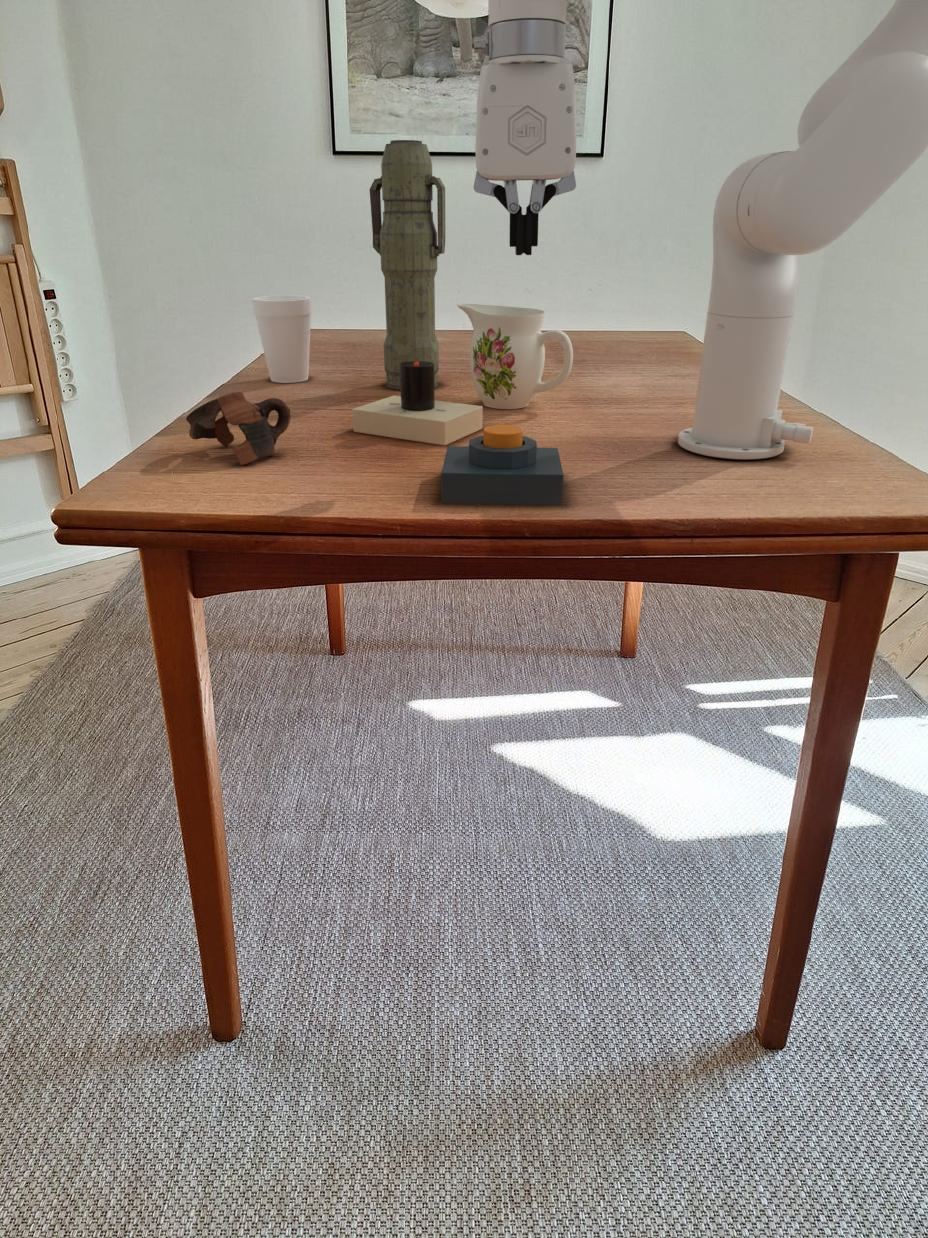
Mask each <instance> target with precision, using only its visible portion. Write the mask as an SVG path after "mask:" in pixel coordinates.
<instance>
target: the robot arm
mask: <svg viewBox="0 0 928 1238" xmlns="http://www.w3.org/2000/svg"><path fill="white" fill-rule="evenodd" d="M567 1H568V0H488V1H487V2H488V4H487V6H488V11H487V12H488V20H487V21H488V23H487V24H488V31H485V34H481V36H473V53H474V54H481V56H485V58H488V59H487V60H488V64H485V65H482V66H481V68H480V73H479V80H478V86H477V88H478V89H477V98H476V99H477V100H476V115H475V116H476V117H475V118H476V119H475V166H476V167H475V168H476V172H475V177H474V182H473V191H474V192H475V193H478V194H481V195H485V196H489V197H492V198H495V199H496V200H497V201H498V202H499V203H500V205H502V206H503V207H504V209H505V210H506V211H507V212H508V213H509V247H510V248H514V249H515V251H514V252H515V256H522V255H526V256H532V253H533V251H532V250H533V247H538V245H539V244H538V243H539V213H540V212H541V210H543V208H544V207H545V206H546V205H547V204H548V203H549V202H550V201H551V200H552V198H554V197H556V196H560V195H562V194H566V193H569V192H572V191H575V190H576V187H577V182H576V176H575V172H574V171H575V168H576V158H577V98H576V97H577V95H576V84H575V73H574V67H573V63H569V62H565V61H566V34H567V33H566V30H567V26H566V25H567V5H568V4H567V3H568V2H567ZM797 144H798V146H799V147H797V149H796V150H786V151H776V152H769V153H762V154H760V155H755V156H754V157H750V158H749V159H747V160H745V161H743V162H742V163H741V164H740V165H738V166H736V168H735V169H733V170H732V171H731V173H730V174H729V175H728V176H727V177H726V178H725V180H724V182H723V184H722V185H721V187H720V189H719V191H718V194H717V197H716V200H715V204H714V209H713V217H712V273H711V281H710V292H709V299H708V307H707V312H706V313H707V314H706V320H705V328H704V335H703V336H704V337H703V344H702V351H701V352H702V353H701V359H700V367H699V375H698V381H697V388H696V389H697V390H696V397H695V403H694V413H693V419H692V427H689V428H686V429H683V430H681V431H680V432H679V433H678V437H677V444H678V445H679V446H680V447H681V448H683V449H685V450H686V451H688V452H690V453H694V454H697V455H701V456H705V457H711V458H717V459H727V460H745V461H747V460H748V461H749V460H762V459H763V460H765V459H770V458H773V457H776V456H779V455H780V454H782V453H783V452H784V449H785V441H792V442H793V443H798V444H799V443H801V444H808V445H809V444H811V441H812V438H813V433H814V426H807V425H806V423H800V422H788V421H787V422H786V419H782V416H783V410H782V409H778V406H779V401H780V395H781V391H782V384H783V378H784V372H785V367H786V361H787V357H788V356H787V355H788V349H789V344H790V338H791V333H792V326H793V322H794V315H795V313H796V306H797V301H798V294H799V293H798V292H799V282H800V272H799V271H800V268H799V264H800V263H799V256H805V255H809V254H813V253H815V252H816V253H817V252H818V251H820V250H822V249H824V248H826V247H827V246H829V245H831V244H832V243H834V242H835V241H836V240H837V239H839V238H840V237H841V236H842V235H844V233H846V232H847V231H848V230H849V229H850V228H852V226H853V225H854V224H855V223H856V222H857V221H858V220H860V218H861V217H862V216H863V215H864V214H865V213H866V212H867V211H868V210H869V209H870V208H871V207H872V206H873V205H875V203H876V202H877V201H878V200H879V199H880V198H881V197H882V196H883V195H884V194H885V193H886V192H887V191H888V190H889V189H890V188H891V187H892V186H893V185H894V184H895V183H896V182H897V181H899V179H900V178H901V177H902V176H903V175H904V174H905V173H906V172H907V171H908V170H909V169H910V168H911V167H912V165H913V164H915V163H916V161H918V159H919V158H920V157H921V156H922V155H923V153H925V151H926V149H927V148H928V0H895V1H894V2H893V5H892V6H891V8H890V9H889V11H888V12H887V14H886V15H885V16H884V17H883V18H882V20H880V22H879V23H878V24H877V26H876V27H875V28H874V29H873V30H872V32H871V33H870V34H869V35H868V36H867V37H866V38H865V39H864V40H863V41H862V43H861V44H860V45H859V46H857V47H856V48H855V50H854V51H853V52H852V53H851V54H850V55H849V56H848V57H847V58H846V60H844V61H843V63H842V64H841V65H840V66H839V67H838V68H837V69H836V70H835V71H834V72H833V73H832V74H831V75H830V76H829V77H827V79H826V80H825V81H824V82H823V83H822V84H821V86H820V87H819V88H817V90H816V91H815V92H814V93H813V95H812V96H811V98H810V99H809V100H808V102H807V103H806V105H805V107H804V108H803V110H802V112H801V116H800V118H799V121H798V125H797ZM558 179H559V180H558ZM548 180H549V181H551V180H558V181H555V182H551V183H548V184H547V181H548ZM491 181H499V182H501V181H502V182H503V185H502V184H497V183H494V182H491ZM517 181H532V183H531V189H530V195H529V196H530V197H529V203H528V205H527V206H526V207H525V214H523V207H522V206H521V204H520V202H519V193H518V184H517Z"/></svg>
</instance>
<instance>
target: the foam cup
mask: <svg viewBox="0 0 928 1238" xmlns="http://www.w3.org/2000/svg"><path fill="white" fill-rule="evenodd" d="M251 301H252V302H251V303H252V309H253V310H252V311H253V315H255V321H256V324H257V329H258V333H259V337H260V341H261V345H262V349H263V354H264V360H265V363H266V366H267V371H268V376H269V377H270V381H271V382H273V383H278V384H279V383H281V384H293V383H302V382H306V381H307V380H309V374H310V373H309V372H310V371H309V370H310V347H311V329H312V328H311V325H312V314H313V304H312V297H310V296H307V295H294V294H293V295H289V294H286V295H285V294H283V295H282V294H281V295H280V294H279V295H263V296H256V297H255V296H254V297H253V298H252V299H251Z"/></svg>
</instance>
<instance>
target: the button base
mask: <svg viewBox="0 0 928 1238" xmlns="http://www.w3.org/2000/svg"><path fill="white" fill-rule="evenodd" d="M440 477H441V478H440V480H441V481H440V482H441V483H440V488H441V491H440V492H441V496H440V497H441V504H456V505H457V504H458V505H459V504H463V505H464V504H465V505H467V504H468V505H510V506H511V505H513V506H515V505H516V506H517V505H518V506H562V505H563V491H564V489H563V488H564V471H563V467H562V463H561V457H560V452H559V449H558V447H538V444H537V440H535V439H533V438H531V437H528V436H525V435H523V438H522V446H521V447H516V448H491V447H486V446H484V445H483V435H478V436H476V437H473V438H471V439H469V443H468V446H462V445H461V446H460V445H459V446H457V445H448V446H447V447H446V452H445V456H444V461H443V464H442V468H441V472H440Z"/></svg>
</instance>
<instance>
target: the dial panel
mask: <svg viewBox="0 0 928 1238" xmlns="http://www.w3.org/2000/svg"><path fill="white" fill-rule="evenodd" d="M351 412H352V413H351V415H352V428H353V429H352V431H353V432H354V433H358V434H364V435H373V436H379V437H384V438H391V439H392V438H393V439H399V440H407V441H413V442H421V443H427V444H433V445H440V446H446V445H449V444H451V443H454V442H455V441H457V440H460V439H463V438H465V437H467V436H469V435H472V434H474V433H476V432H478V431H480V430H482V429H483V415H484V414H483V413H484V411H483V406H482V405H476V404H468V403H461V402H460V403H459V402H452V401H445V400H444V401H443V400H435V407H434V408H433V409H430V410H424V411H411V410H405V409H402V408H401V395H395V394H394V395H390V396H388V397H386V398H382V399H378V400H376V401H372V402H369V403H367V404H364V405H361V406H357V407H355V408H352V409H351Z"/></svg>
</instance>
